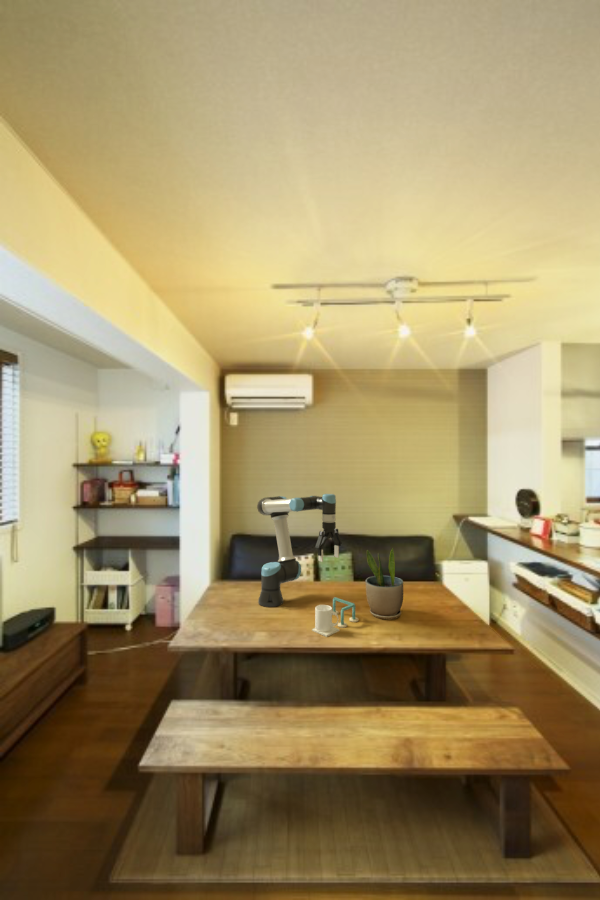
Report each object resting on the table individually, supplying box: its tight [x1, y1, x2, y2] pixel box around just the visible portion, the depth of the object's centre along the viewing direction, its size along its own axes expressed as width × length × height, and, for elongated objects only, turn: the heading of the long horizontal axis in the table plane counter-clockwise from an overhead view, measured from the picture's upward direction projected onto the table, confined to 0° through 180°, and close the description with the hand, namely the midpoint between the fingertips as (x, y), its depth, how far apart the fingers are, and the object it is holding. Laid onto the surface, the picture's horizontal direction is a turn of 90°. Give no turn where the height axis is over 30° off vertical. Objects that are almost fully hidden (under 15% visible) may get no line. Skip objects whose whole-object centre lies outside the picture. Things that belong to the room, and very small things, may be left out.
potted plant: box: [365, 548, 404, 620], centre depth 231 cm, size 21×22×40 cm
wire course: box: [332, 596, 359, 629], centre depth 224 cm, size 19×15×9 cm
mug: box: [314, 604, 339, 632], centre depth 209 cm, size 9×12×11 cm
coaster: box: [311, 626, 340, 638], centre depth 209 cm, size 10×10×1 cm
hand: (328, 559), depth 229 cm, fingers open, 13 cm apart
